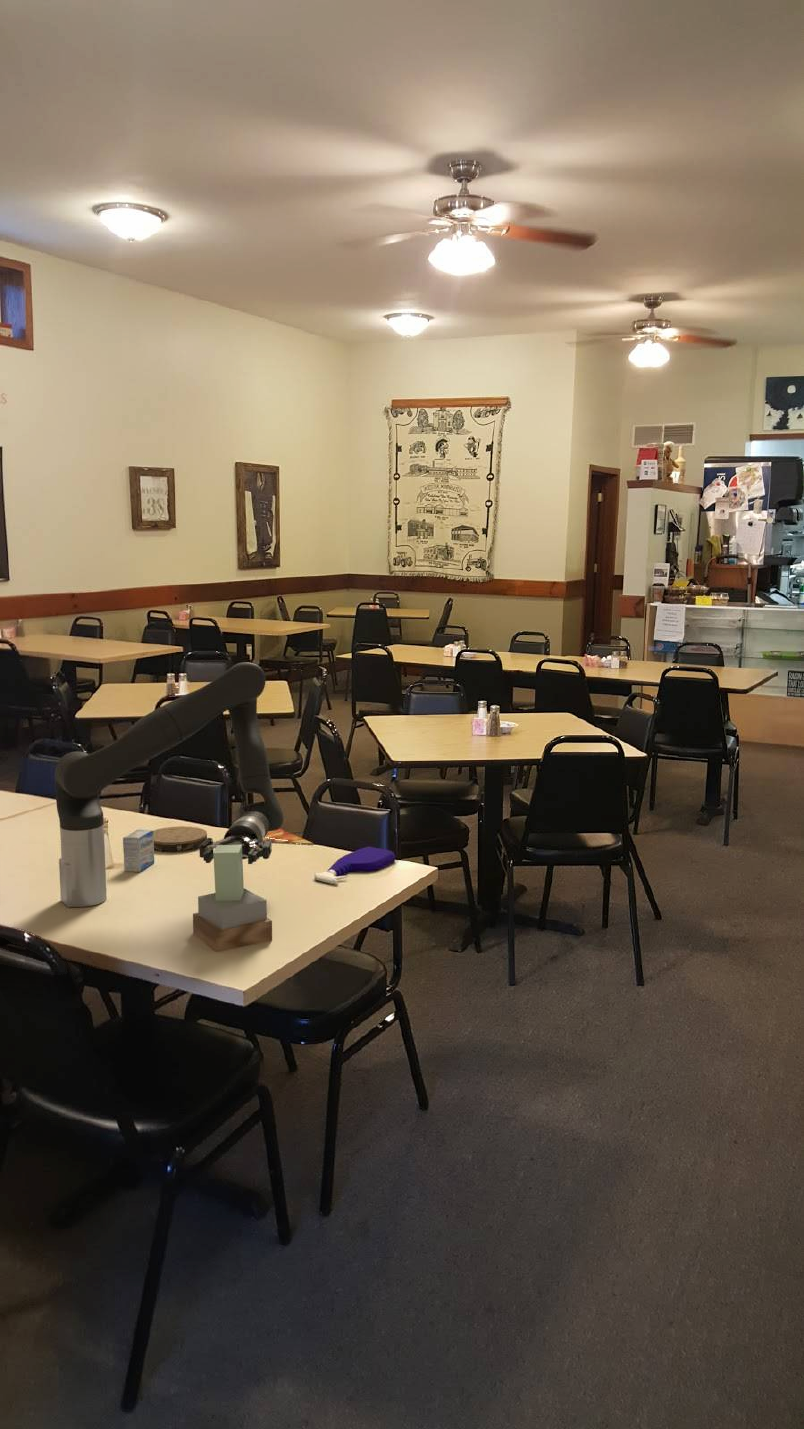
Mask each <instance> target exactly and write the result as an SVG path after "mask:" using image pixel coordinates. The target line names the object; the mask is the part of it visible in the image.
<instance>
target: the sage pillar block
mask: <svg viewBox="0 0 804 1429" xmlns="http://www.w3.org/2000/svg"><path fill="white" fill-rule="evenodd" d="M213 854H214V858H213V870H214V871H213V872H214V873H213V874H214V890H215V892H214V893H215V896H216V901H241V899H242V896H243V893H244V888H245V887H244V886H245V884H244V866H243V864H244V863H243V861H244V859H242V845H217V846H216V849H215V848H214V850H213Z"/></svg>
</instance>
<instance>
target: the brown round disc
mask: <svg viewBox="0 0 804 1429" xmlns="http://www.w3.org/2000/svg"><path fill="white" fill-rule="evenodd" d="M153 838H154V852H157V853H171V854H172V853H174V854H175V853H184V852H192V851H196V850H199V845H200V844H201V843H202V842H204V841H205V840H206V839H207V838H208V833H207V831H206V829H204V828H200V827H195V826H170V827H169V826H167V827H163V828H158V829H154V830H153Z"/></svg>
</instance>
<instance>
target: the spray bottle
mask: <svg viewBox="0 0 804 1429" xmlns="http://www.w3.org/2000/svg"><path fill="white" fill-rule="evenodd" d="M395 861H396V855H395V853H394V852H393V851H392V850H388V849H385V848H377V847H375V846H374V847H372V846H365V847H362V848H359V849H357V850H355V851H351V852H349V853H347V854H345V855H343V856H342V857H340V858H338V859H337V860H336V861H335V862H334V863H333V864H332V865H331V866H330V867H329V868H328V869H327V870H326V871H324V872H319V873H316V872H315V873H314V880H316V881H320V882H323V883H328V884H331V885H339V880H342V879H347V878H348V876H347V875H345V874H348V873H370V872H371V873H372V872H377V871H379V870H382V869H384V868H386V867H387V866H390V865H391V864H393V863H394V862H395Z"/></svg>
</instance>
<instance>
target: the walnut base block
mask: <svg viewBox="0 0 804 1429" xmlns="http://www.w3.org/2000/svg"><path fill="white" fill-rule="evenodd" d="M192 930H193V932H192V933H193V934H194V935H195V936H196V937H197V938H198V939H200V940H201V941H202V942H203V943H204V944H206V946H208V947H209V948H210V949H211V950H213V952H215V953H219V952H224V951H229V950H233V949H238V948H243V947H247V946H248V947H249V946H252V945H257V944H262V943H266V942H271V941H273V920H271V919H270V918H269V917H267V919H265V920H261V921H257V922H253V923H249V924H245V925H240V926H236V927H232V928H228V929H224V930H221V929H220V928H218V927H216V926H215V925H213V924H212V923H210V922H208V921H207V920H205V919H203V918H202V917H200V916H198V912H193V913H192Z"/></svg>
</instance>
